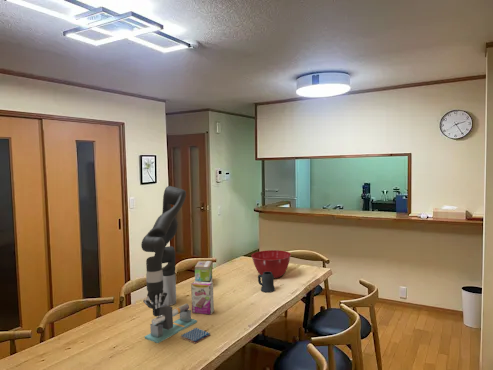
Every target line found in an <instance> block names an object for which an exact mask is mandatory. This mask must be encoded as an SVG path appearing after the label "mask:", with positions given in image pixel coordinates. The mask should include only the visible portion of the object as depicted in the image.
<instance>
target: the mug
mask: <svg viewBox="0 0 493 370" xmlns="http://www.w3.org/2000/svg"><path fill="white" fill-rule="evenodd" d="M274 281H275V278H274V276H273V274H272V272H268V271H267V272H263V275H260V274H258V275H257V282H258V284H259V285H260V286H261V287H260V291H261V292H262V293H269V294H270V293H273V292H275V291H276V287H275V284H274V283H275V282H274Z"/></svg>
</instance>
